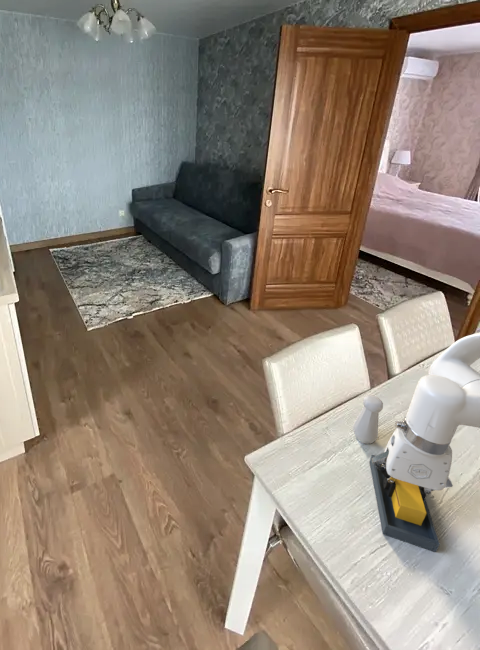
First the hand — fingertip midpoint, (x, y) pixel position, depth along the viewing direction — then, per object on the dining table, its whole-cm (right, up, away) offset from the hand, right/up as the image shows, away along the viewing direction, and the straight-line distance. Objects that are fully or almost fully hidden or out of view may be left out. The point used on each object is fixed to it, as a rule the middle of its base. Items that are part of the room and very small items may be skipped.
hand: (401, 494), depth 74 cm
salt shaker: (0, +3, +16) cm, 16 cm away
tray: (0, -2, +1) cm, 3 cm away
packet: (0, 0, 0) cm, 0 cm away
